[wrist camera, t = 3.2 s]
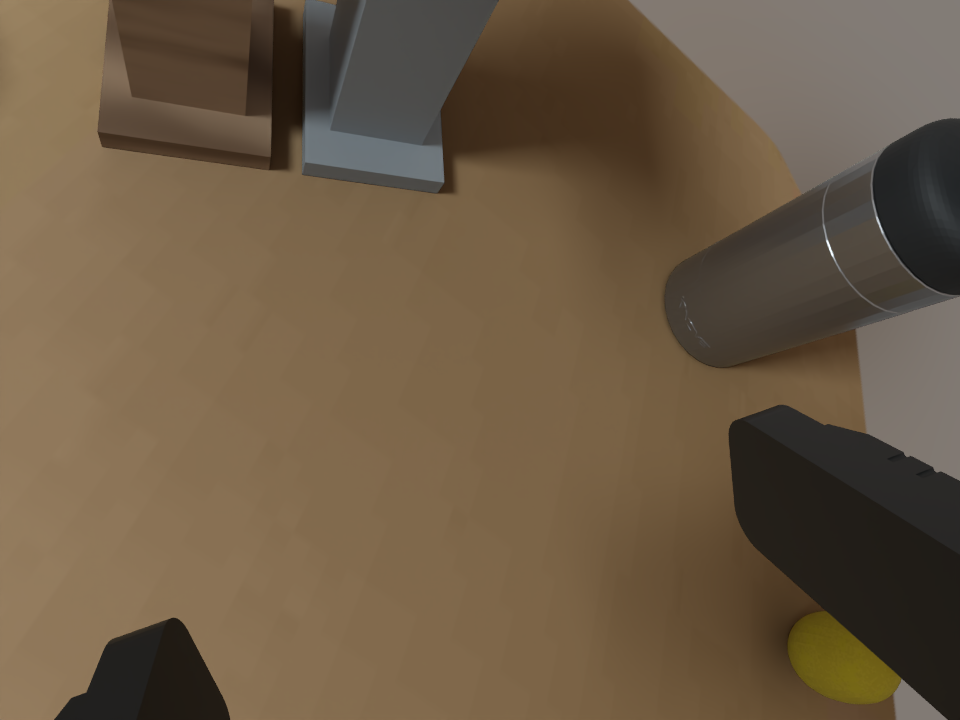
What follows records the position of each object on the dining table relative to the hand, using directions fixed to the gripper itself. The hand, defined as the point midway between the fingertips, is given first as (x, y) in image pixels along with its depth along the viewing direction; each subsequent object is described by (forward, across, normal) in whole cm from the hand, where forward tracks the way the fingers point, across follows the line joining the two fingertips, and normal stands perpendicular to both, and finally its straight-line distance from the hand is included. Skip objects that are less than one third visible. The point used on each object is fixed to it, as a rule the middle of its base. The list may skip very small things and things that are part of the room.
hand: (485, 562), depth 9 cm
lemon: (+22, -22, +35) cm, 47 cm away
